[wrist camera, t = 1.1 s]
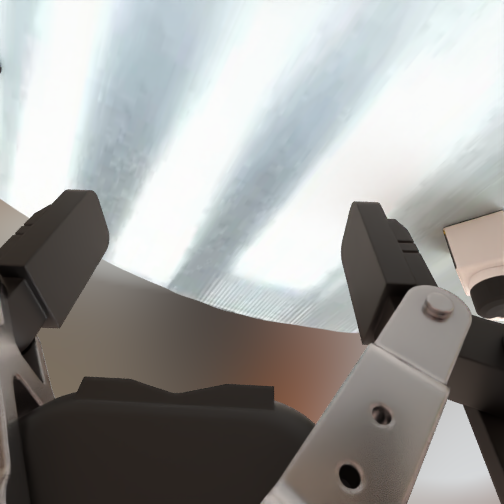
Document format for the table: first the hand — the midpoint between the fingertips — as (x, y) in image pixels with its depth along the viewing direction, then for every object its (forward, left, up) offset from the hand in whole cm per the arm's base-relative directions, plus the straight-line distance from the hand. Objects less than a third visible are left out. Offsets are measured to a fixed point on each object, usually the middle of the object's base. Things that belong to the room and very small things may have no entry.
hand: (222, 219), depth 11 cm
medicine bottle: (+25, +31, -26) cm, 47 cm away
